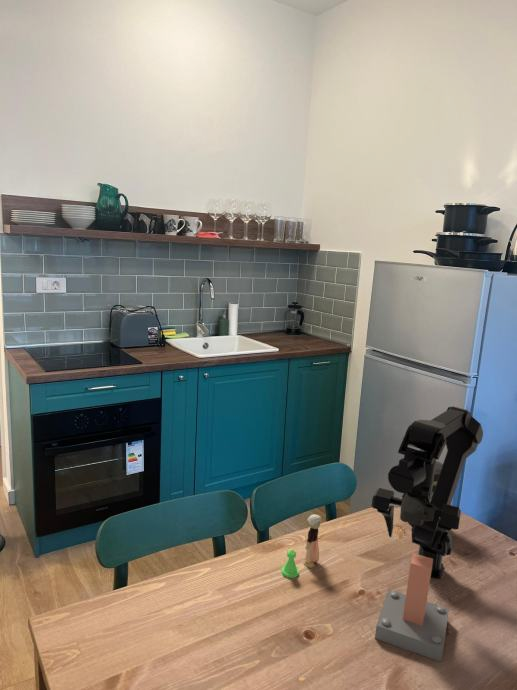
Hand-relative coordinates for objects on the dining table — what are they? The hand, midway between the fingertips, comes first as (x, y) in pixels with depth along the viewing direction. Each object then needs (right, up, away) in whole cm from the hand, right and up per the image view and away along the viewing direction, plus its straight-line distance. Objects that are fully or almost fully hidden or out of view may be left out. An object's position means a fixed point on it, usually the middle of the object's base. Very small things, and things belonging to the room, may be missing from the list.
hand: (410, 542), depth 122 cm
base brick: (-2, -15, -9) cm, 18 cm away
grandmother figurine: (-22, -9, +12) cm, 27 cm away
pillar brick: (-2, -12, -10) cm, 16 cm away
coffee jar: (+14, -7, +35) cm, 38 cm away
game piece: (-27, -10, +7) cm, 30 cm away
